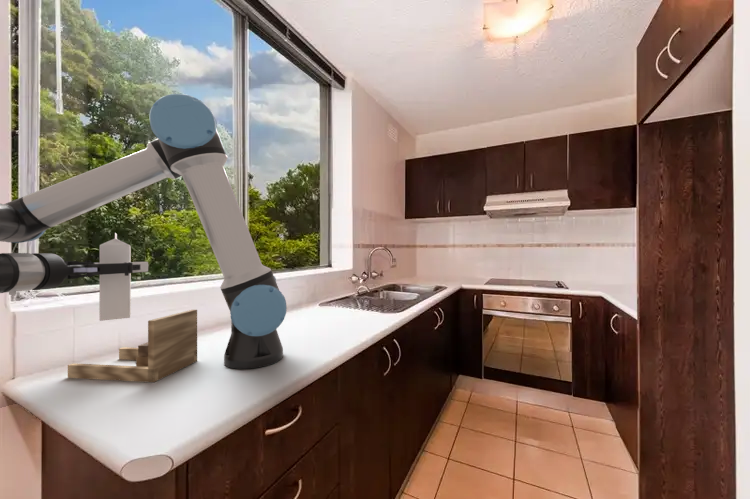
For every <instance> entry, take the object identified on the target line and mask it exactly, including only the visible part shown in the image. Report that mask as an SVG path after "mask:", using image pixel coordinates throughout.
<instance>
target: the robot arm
mask: <svg viewBox="0 0 750 499" xmlns="http://www.w3.org/2000/svg"><path fill="white" fill-rule="evenodd" d="M148 117H149V124H150V125H149V126H150V129H151V131H152V133H153V134H154V135H155V137H156V139H154V140H152V141H148V143H147V145H146V148H145V149H141V150H139V151H137V152H134V153H132V154H128V155H126V156H124V157H121V158H119V159H116V160H113V161H111V162H108V163H106V164H103V165H100V166H99V167H96V168H93V169H90V170H88V171H85V172H83V173H80V174H78V175H75V176H72V177H70V178H68V179H65V180H62V181H60V182H57V183H54V184H52V185H50V186H46V187H44V188H42V189H40V190H37V191H34V192H31V193H29V194H25V195H24V196H21V197H19V198H17V199H13V200H12V201H9V202H6V203H0V242H1V243H2V242H6V243H11V244H21V243H28V242H33V241H36V240H38V239H39V238H41V237H42V236H43V235H44V233H45V232H46V231H47V230H49V229H51V228H53V227H56V226H58V225H60V224H62V223H65V222H67V221H69V220H72V219H74V218H76V217H78V216H81V215H83V214H86V213H88V212H90V211H92V210H95V209H98V208H99V207H101V206H104V205H106V204H109V203H111V202H114V201H115V200H118V199H121V198H123V197H125V196H127V195H129V194H132V193H134V192H137V191H139V190H141V189H144V188H146V187H149V186H150V185H152V184H155V183H157V182H160V181H162V180H164V179H166V178H168V179H172V180H175V179H178V178H180V177H182V178H183V181H184V184H185V185H186V186H185V187H186V188H187V190H188V193H189V195H190V198H191V200H192V203H193V205H194V207H195V211H196V213H197V215H198V218H199V221H200V223H201V225H202V228H203V230H204V232H205V234H206V237H207V239H208V241H209V245H210V247H211V248H212V249H211V250H212V251H213V254H214V256H215V259H216V261H217V264H218V266H219V269H220V270H221V273H222V275H223V280H222V284H221V285H220V287H219V288H220V290H221V293H222V295H223V298H224V300H225V303H226V305H227V307H228V310H229V312H230V313H229V314H230V330H231V332H230V336H229V339H228V343H227V346H226V348H225V351H224V356H223V363H224V366H225V367H228V368H230V369H237V370H248V369H250V370H251V369H255V368H256V369H257V368H262V367H266V366H270V365H273V364H275V363H277V362H279V361H281V360H282V358H284V348H283V344H282V341H281V338H280V335H279V333H278V331H277V329H278V328H279V327H280V325H282V324H283V322H284V320H285V318H286V314H287V310H288V308H287V300H286V297H285V296H284V294H283V293H282V292H281V291H280V289H279V286H278V283H277V278H276V276H275V275H274V274H273V271H272V269H271V268H270V267H268V266H266V265H264V264H262V261H261V259H260V256H259V253H258V251H257V248H256V246H255V243H254V240H253V238H252V235H251V233H250V231H249V228H248V226H247V222H246V220H245V217H244V216H243V213H242V212H243V211H242V210H241V208H240V205H239V202H238V200H237V197H236V195H235V192H234V189H233V187H232V185H231V182H230V180H229V177H228V174H227V172H226V170H225V166H226V163H227V161H228V159H229V158H228V155H227V152H226V151H225V148H224V144H223V142H222V139H221V137H220V134H219V132H218V131H219V130H218V129H217V128H218V126H217V125H218V124H217V120H216V117H215V115H214V113H213V112H212V110H211V109H210V108H209V107H208V106H207V104H206V103H205V102H203V101H201V100H200V99H198V98H196V97H194V96H192V95H189V94H186V93H170V94H166V95H164V96H161V97H159V99H156V101H155V102H154V103H153V105H152V106H151V108H150V110H149V116H148ZM147 272H149V261H133V262H132V261H131V262H124V263H110V264H100V262H93V261H92V260H89V259H88V260H87V259H86V260H84V261H78V260H71V261H70V260H68V261H65V259H63V258H62V257H61V256H60V255H58V254H55V253H51V252H50V253H49V252H48V253H47V252H46V253H44V252H43V253H42V252H41V253H40V252H39V253H38V252H37V253H36V252H35V253H29V252H12V253H11V252H1V253H0V294H5V293H8V295H10V296H15V295H17V292H25V291H31V290H32V291H39V290H47V289H48V290H49V289H54V288H57V287H59V286H60V285H62V284H63V282H64V281H65V280H66V279H67V280H69V279H70V280H73V279H75V280H76V279H79V278H91V277H94V276H100V275H103V274H120V273H125V276H129V273H131V274H134V273H147Z"/></svg>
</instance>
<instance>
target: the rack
mask: <svg viewBox="0 0 750 499" xmlns="http://www.w3.org/2000/svg"><path fill="white" fill-rule="evenodd" d="M147 342H148V367H142V366H136V365H119V364H118V365H116V364H115V365H114V364H96V363H95V364H94V363H77V362H75V363H70V364H67V379H80V380H82V379H85V380H101V381H102V380H104V381H118V382H119V381H121V382H122V381H123V382H140V383H141V382H142V383H156V382H157V381H159V380H161V379H164V378H166V377H168V376H170V375H172V374H174V373H176V372H178V371H180V370H182V369H184V368H186V367H188V366H190V365H192V364H194V363H196V362H198V309H188V310H185V311H182V312H177V313H174V314H169V315H166V316H162V317H158V318H154V319H150V320H148V321H147ZM136 357H138V347H129V346H128V347H126V346H122V347H119V348H118V360H123V361H125V360H127V361H130V360H131V361H136Z"/></svg>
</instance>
